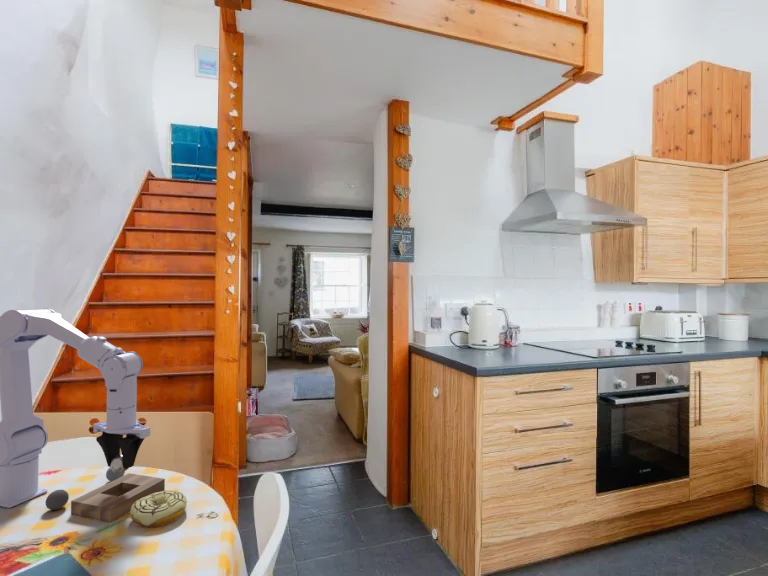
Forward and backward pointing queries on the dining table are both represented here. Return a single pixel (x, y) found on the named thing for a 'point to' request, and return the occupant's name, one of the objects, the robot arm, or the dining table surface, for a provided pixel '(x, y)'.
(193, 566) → the dining table surface
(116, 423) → the robot arm
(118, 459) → the steel ball
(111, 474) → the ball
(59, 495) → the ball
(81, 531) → the dining table surface
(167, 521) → the decorated donut
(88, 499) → the hole plate
